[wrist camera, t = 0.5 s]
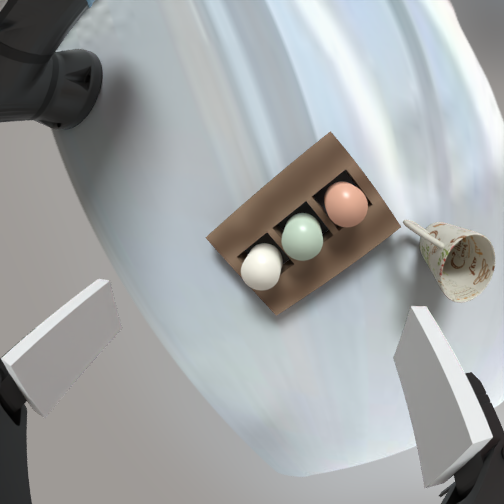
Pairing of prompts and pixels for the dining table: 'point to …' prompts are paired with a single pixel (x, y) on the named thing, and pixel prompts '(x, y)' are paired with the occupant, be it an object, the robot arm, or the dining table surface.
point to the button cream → (262, 267)
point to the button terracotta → (345, 204)
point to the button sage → (302, 237)
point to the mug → (456, 258)
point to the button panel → (302, 189)
